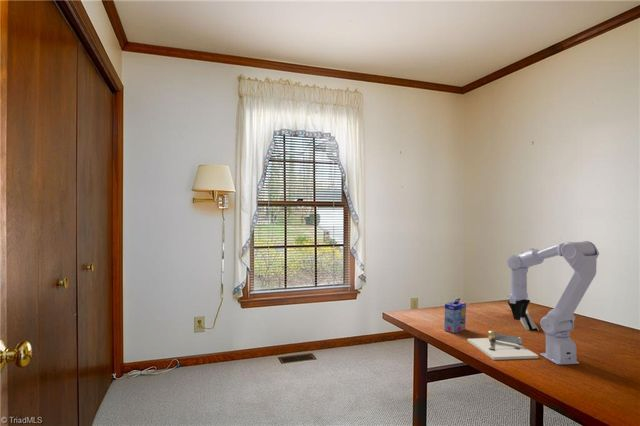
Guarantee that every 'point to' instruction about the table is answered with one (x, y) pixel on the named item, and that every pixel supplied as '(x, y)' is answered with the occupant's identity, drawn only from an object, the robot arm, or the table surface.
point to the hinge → (527, 320)
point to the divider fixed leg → (492, 345)
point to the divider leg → (504, 337)
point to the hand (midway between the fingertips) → (519, 318)
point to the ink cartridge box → (455, 316)
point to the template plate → (502, 349)
